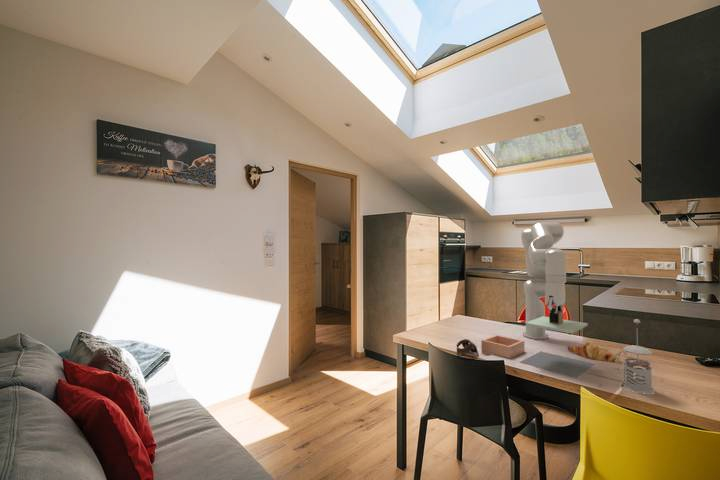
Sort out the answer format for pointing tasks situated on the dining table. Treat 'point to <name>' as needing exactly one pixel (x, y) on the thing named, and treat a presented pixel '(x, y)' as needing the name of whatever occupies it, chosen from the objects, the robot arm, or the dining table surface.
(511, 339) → the shallow wooden crate
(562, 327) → the lid
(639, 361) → the french press
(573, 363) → the mat
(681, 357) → the dining table surface
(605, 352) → the croissant
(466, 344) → the brown napkin holder
